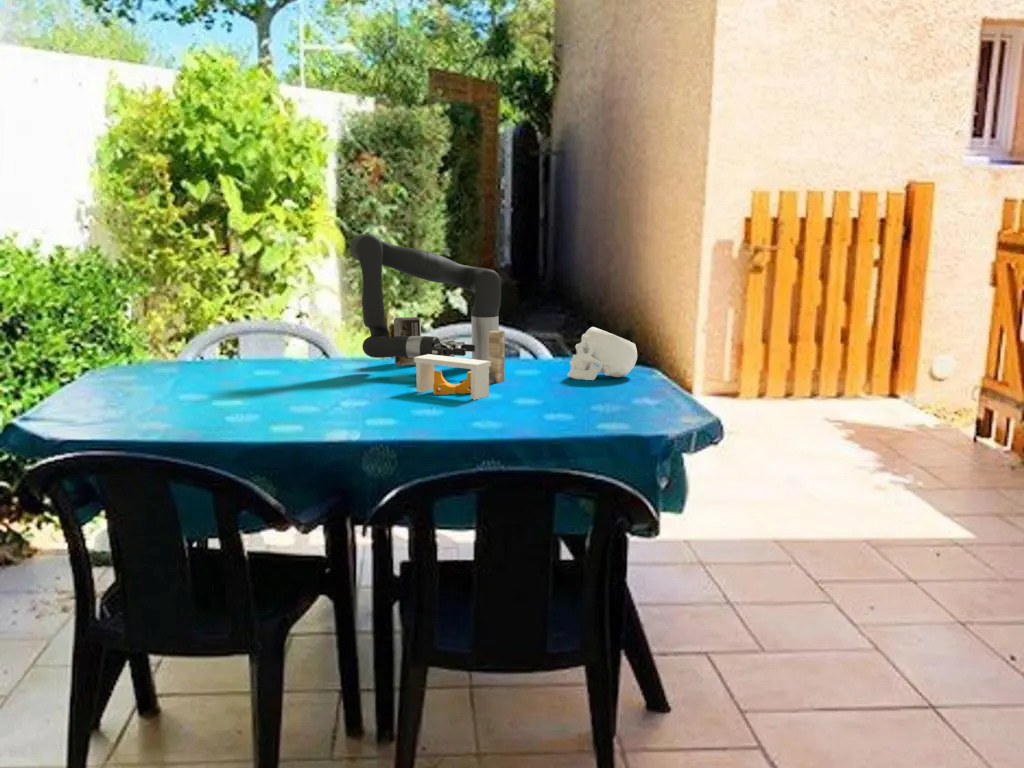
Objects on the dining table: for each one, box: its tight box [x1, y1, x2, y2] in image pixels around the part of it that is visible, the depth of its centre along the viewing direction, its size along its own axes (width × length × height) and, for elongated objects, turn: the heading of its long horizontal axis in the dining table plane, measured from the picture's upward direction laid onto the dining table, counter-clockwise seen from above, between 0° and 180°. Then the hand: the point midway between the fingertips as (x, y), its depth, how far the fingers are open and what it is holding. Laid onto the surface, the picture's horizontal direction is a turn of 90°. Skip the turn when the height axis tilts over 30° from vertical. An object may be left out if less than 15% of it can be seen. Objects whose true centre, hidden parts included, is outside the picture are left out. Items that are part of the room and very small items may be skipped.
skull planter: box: [567, 326, 638, 381], centre depth 328 cm, size 14×20×19 cm
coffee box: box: [393, 316, 422, 367], centre depth 351 cm, size 9×6×16 cm
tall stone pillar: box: [459, 330, 506, 390], centre depth 314 cm, size 20×4×16 cm, turn 146°
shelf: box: [414, 354, 491, 401], centre depth 302 cm, size 7×23×10 cm, turn 57°
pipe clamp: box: [432, 370, 471, 395], centre depth 304 cm, size 12×4×6 cm, turn 86°
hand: (470, 350), depth 323 cm, fingers open, 8 cm apart
